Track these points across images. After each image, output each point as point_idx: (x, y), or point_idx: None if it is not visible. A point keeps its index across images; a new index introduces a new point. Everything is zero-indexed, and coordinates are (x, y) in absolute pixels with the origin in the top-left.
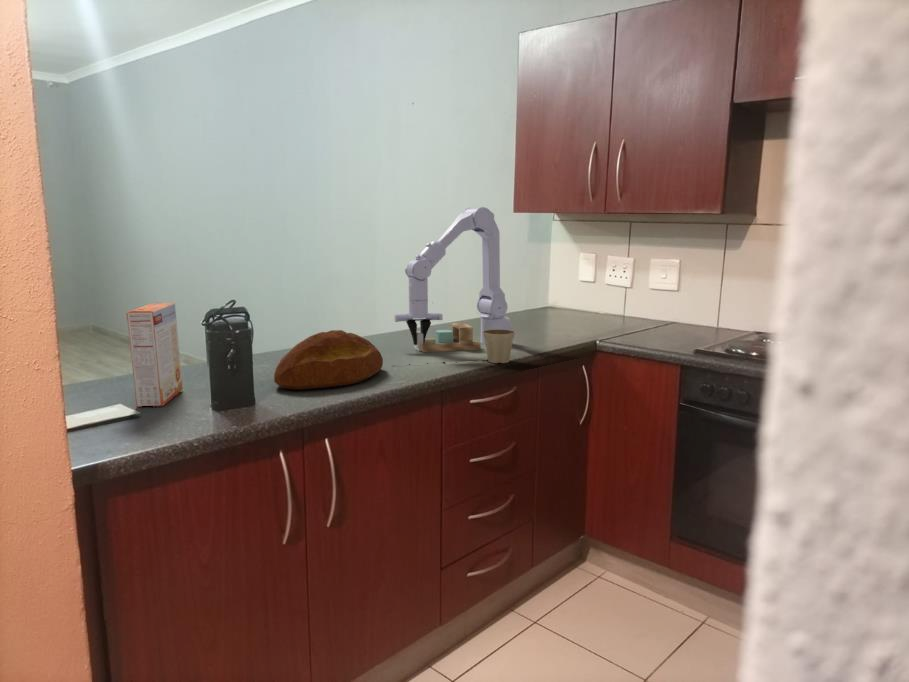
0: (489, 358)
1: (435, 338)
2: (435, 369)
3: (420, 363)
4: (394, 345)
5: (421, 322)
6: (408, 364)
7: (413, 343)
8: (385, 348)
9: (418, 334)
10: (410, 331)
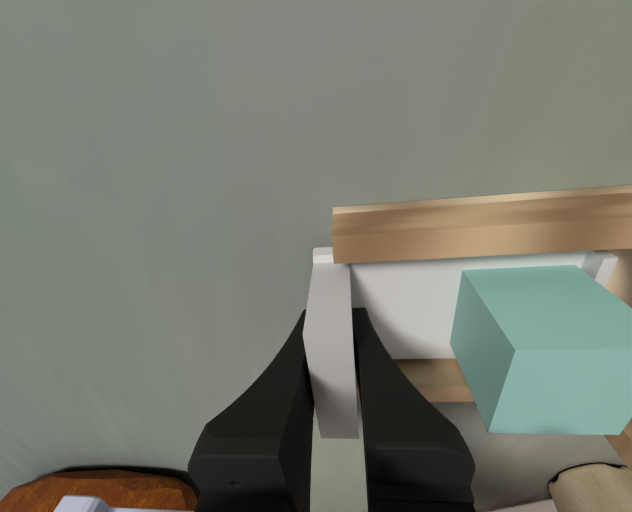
0: (555, 503)
1: (479, 301)
2: (350, 500)
3: (316, 453)
4: (154, 15)
5: (367, 486)
6: None
7: (302, 313)
8: (118, 155)
9: (324, 436)
10: (266, 370)
